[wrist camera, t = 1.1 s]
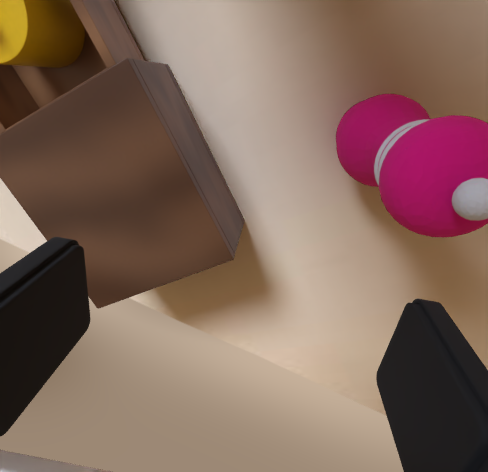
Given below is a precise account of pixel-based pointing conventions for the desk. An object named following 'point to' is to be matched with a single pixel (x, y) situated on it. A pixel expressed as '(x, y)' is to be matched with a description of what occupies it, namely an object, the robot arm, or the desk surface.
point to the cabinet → (124, 181)
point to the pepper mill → (418, 163)
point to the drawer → (74, 75)
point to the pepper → (40, 33)
